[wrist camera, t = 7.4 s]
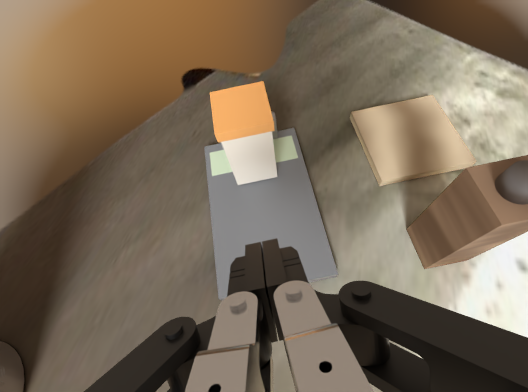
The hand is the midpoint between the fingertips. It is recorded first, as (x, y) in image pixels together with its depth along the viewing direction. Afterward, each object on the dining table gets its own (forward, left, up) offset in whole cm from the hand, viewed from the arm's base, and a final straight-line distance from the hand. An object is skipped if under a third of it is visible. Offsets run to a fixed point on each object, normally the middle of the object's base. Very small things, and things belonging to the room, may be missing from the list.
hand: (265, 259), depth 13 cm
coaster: (+16, +13, -12) cm, 24 cm away
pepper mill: (+14, +2, -12) cm, 19 cm away
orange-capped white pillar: (0, +13, -11) cm, 17 cm away
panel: (0, +9, -12) cm, 15 cm away
